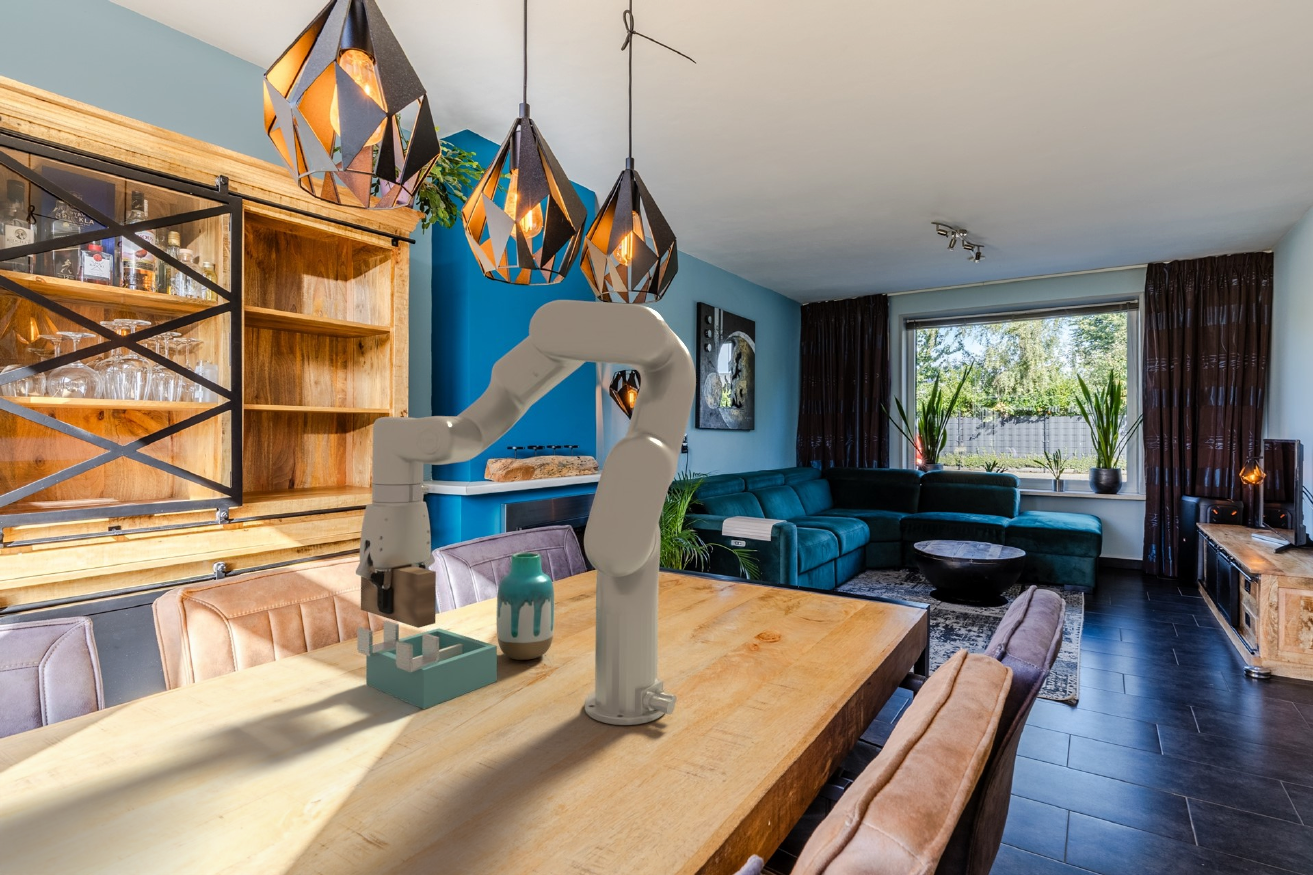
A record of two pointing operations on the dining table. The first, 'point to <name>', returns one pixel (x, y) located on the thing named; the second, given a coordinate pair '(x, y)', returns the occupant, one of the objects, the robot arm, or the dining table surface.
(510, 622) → the vase
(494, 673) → the box
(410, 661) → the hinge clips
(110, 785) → the dining table surface
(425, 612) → the door
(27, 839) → the dining table surface
